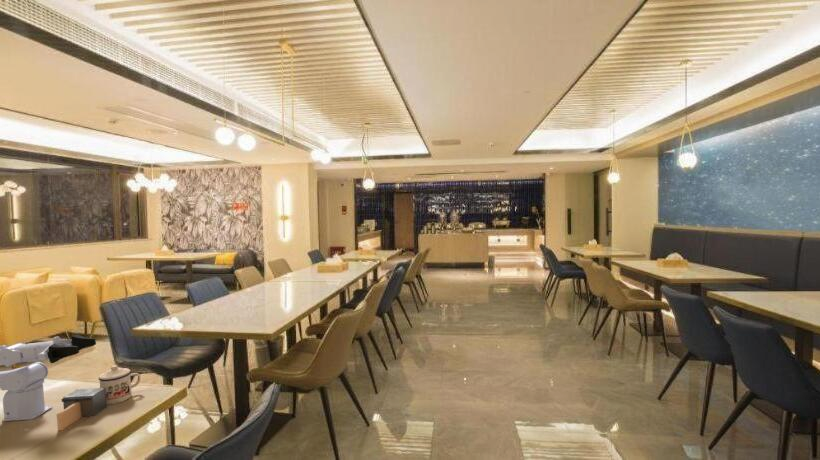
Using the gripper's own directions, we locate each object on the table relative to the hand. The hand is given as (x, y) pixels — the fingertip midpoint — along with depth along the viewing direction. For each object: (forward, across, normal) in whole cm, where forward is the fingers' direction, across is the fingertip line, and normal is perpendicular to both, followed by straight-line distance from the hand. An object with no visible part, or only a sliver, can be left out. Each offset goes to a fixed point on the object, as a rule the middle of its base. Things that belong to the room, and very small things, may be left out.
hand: (86, 345), depth 135 cm
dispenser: (-3, -1, +21) cm, 22 cm away
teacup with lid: (+2, +9, +22) cm, 24 cm away
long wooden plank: (-3, -6, +21) cm, 22 cm away
